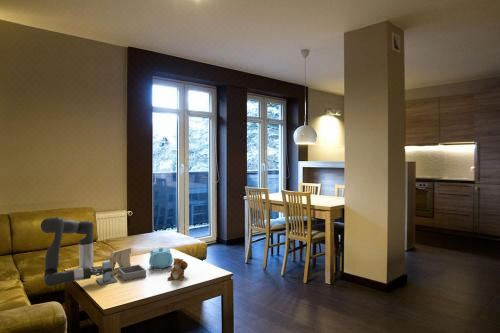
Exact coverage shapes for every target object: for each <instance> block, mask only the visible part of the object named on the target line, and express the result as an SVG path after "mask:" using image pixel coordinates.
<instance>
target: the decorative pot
mask: <svg viewBox="0 0 500 333" xmlns="http://www.w3.org/2000/svg"><path fill="white" fill-rule="evenodd" d="M149 254H150V256H149V261H148V263H149V265H150V267H152V268H153V269H155V268H156V269H159V270H164V268H167V267H170V266H172V265H173V263H174V258H173V254H172V253H171V250H170V249H169V248H164V247H159V248H157V249H153V250H150V253H149Z"/></svg>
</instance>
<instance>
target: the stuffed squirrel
mask: <svg viewBox="0 0 500 333" xmlns="http://www.w3.org/2000/svg"><path fill="white" fill-rule="evenodd" d="M188 266H189V264H188V262H187V261H186V260H184V258H177V257H176V258H173V263H172V267H173V268H171V270H170V274H169V276H168V277H167V278H166V279H167V280H168V281H171V280H172V281H173V280H178V281H180V282H182V281H183V280H184V279H185V270H186V269H187V268H189V267H188Z"/></svg>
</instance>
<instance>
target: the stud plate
mask: <svg viewBox="0 0 500 333" xmlns="http://www.w3.org/2000/svg"><path fill="white" fill-rule="evenodd" d="M96 282H97V283H98V285H100V286H104V285H109V284H114V283H117V282H118V280H117V278H116V277H115V276H114V275H111V280H106V281H104V280H103V276H102V277H99V278H98V277H97V278H96Z"/></svg>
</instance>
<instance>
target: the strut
mask: <svg viewBox="0 0 500 333" xmlns="http://www.w3.org/2000/svg"><path fill="white" fill-rule="evenodd" d="M101 264H102V265H101V266H102V269H106V268H110V259H108V260H102V262H101ZM102 272H103V271H102ZM111 276H112V275H111V272H106V273H105V274H103V275H102V277H103V280H104V281H106V280H111Z"/></svg>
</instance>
